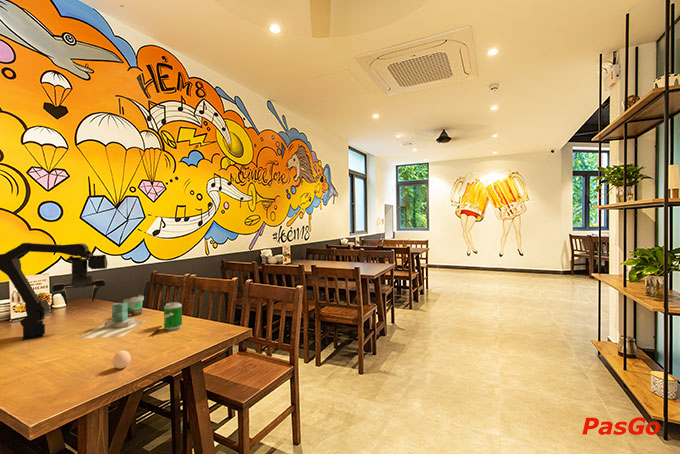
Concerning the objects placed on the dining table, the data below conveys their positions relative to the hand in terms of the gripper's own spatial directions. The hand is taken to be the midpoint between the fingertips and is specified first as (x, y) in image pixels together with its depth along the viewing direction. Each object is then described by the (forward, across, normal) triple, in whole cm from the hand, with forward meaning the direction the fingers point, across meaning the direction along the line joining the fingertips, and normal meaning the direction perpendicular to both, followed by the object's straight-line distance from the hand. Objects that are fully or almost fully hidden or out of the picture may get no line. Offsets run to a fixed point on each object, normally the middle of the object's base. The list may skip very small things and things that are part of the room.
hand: (79, 303), depth 145 cm
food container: (+13, +24, +14) cm, 31 cm away
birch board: (+13, +12, -14) cm, 22 cm away
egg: (+13, +11, -60) cm, 62 cm away
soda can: (+13, +34, -26) cm, 45 cm away
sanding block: (+12, +15, -9) cm, 21 cm away
